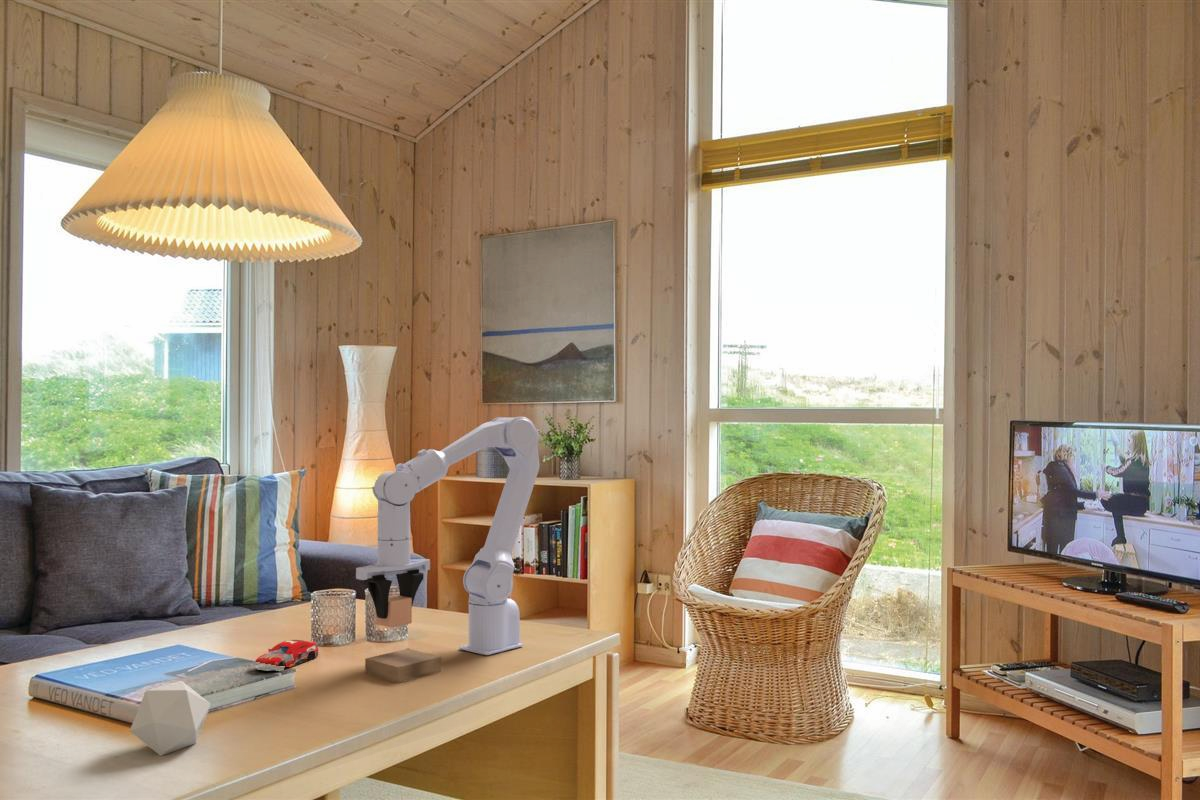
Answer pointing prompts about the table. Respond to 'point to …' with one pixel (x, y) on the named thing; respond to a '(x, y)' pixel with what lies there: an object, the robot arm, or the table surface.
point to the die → (170, 717)
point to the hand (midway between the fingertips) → (394, 615)
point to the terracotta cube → (397, 612)
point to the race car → (290, 653)
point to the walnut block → (402, 665)
